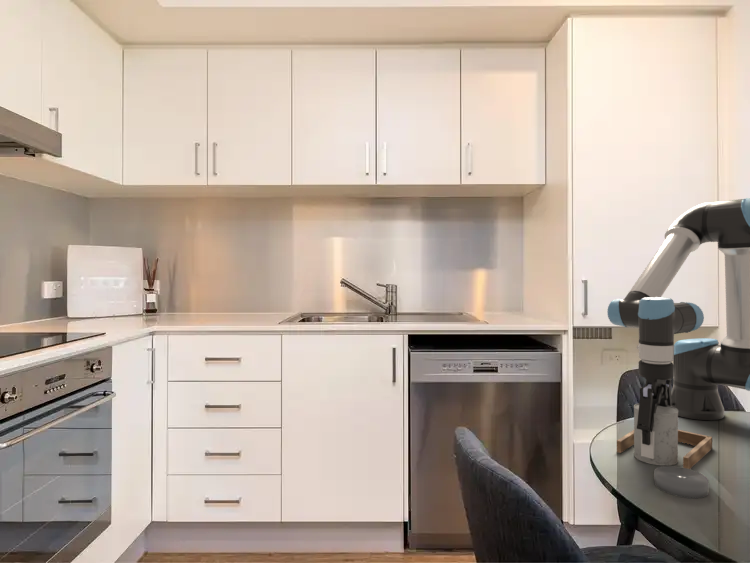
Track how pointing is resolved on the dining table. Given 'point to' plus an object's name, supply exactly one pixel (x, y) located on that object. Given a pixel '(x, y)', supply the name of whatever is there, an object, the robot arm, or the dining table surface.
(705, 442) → the frame
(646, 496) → the dining table surface
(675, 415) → the grey marbled pot
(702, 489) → the pedestal
